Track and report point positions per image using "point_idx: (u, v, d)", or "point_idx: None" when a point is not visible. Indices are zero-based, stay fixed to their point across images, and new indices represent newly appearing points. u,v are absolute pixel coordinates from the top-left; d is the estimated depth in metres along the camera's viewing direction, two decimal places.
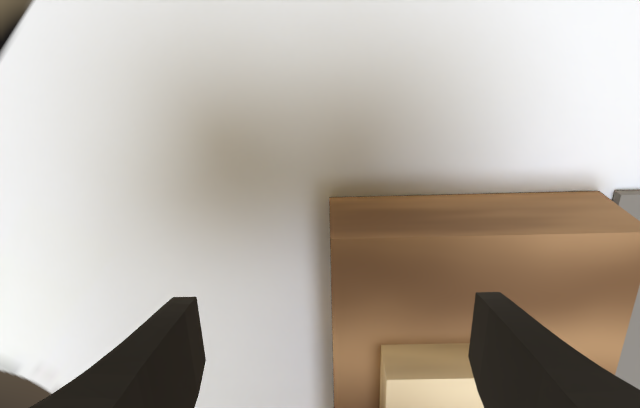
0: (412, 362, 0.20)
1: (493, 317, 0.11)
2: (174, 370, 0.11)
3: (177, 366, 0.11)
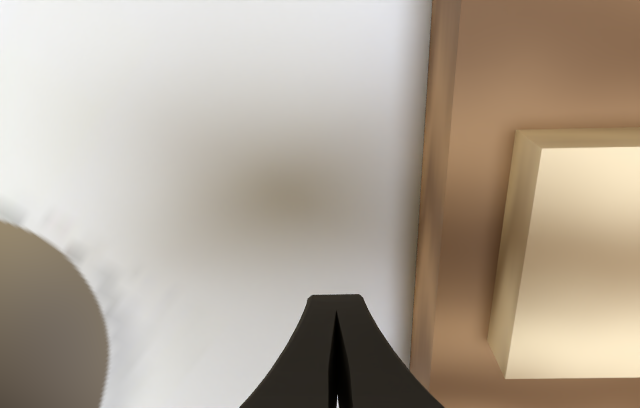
0: (568, 138, 0.14)
1: (337, 319, 0.11)
2: (333, 368, 0.11)
3: (334, 364, 0.11)
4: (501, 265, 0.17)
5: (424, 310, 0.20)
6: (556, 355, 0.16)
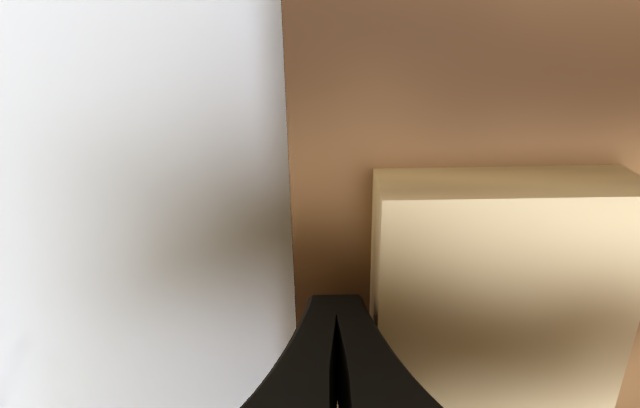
0: (428, 183, 0.11)
1: (336, 319, 0.11)
2: (334, 368, 0.11)
3: (335, 364, 0.11)
4: None
5: None
6: None
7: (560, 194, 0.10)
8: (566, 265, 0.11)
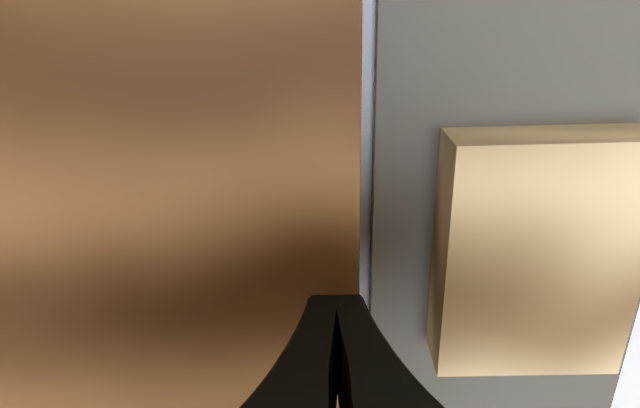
0: (617, 131, 0.14)
1: (337, 319, 0.11)
2: (333, 367, 0.11)
3: (334, 364, 0.11)
4: (635, 281, 0.15)
5: None
6: None
7: (517, 126, 0.15)
8: None
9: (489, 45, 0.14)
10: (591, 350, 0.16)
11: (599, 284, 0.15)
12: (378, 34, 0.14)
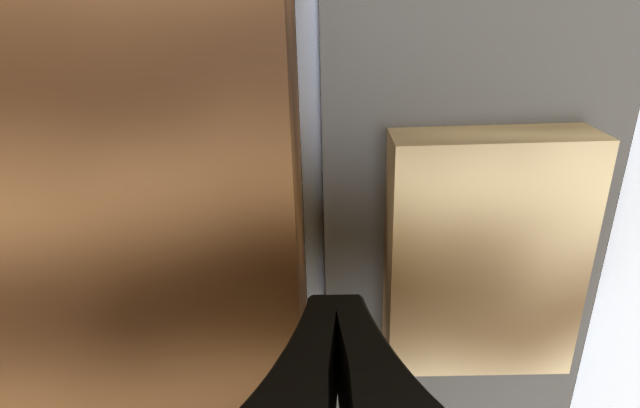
0: (560, 131, 0.14)
1: (337, 319, 0.11)
2: (333, 368, 0.11)
3: (334, 364, 0.11)
4: (583, 281, 0.15)
5: None
6: None
7: (462, 126, 0.15)
8: None
9: (431, 45, 0.14)
10: (540, 349, 0.16)
11: (545, 284, 0.15)
12: (320, 34, 0.14)
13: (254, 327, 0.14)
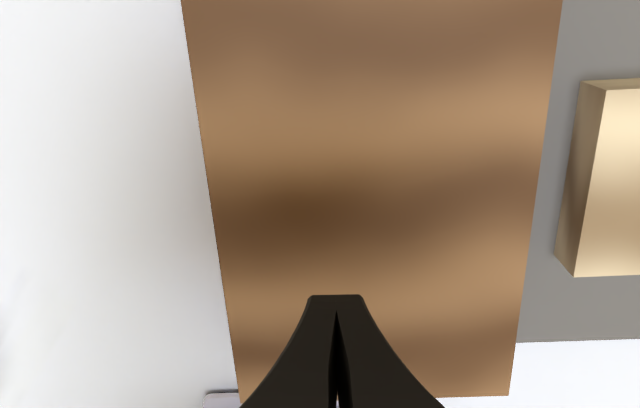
0: None
1: (337, 319, 0.11)
2: (333, 367, 0.11)
3: (334, 364, 0.11)
4: None
5: None
6: None
7: None
8: None
9: (622, 16, 0.19)
10: None
11: None
12: None
13: (496, 228, 0.19)
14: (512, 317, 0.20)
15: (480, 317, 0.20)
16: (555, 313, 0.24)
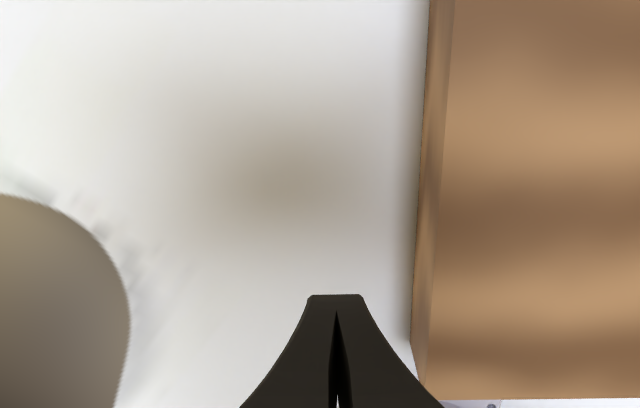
0: None
1: (337, 319, 0.11)
2: (333, 368, 0.11)
3: (334, 364, 0.11)
4: None
5: (423, 281, 0.22)
6: None
7: None
8: None
9: None
10: None
11: None
12: None
13: None
14: None
15: None
16: None
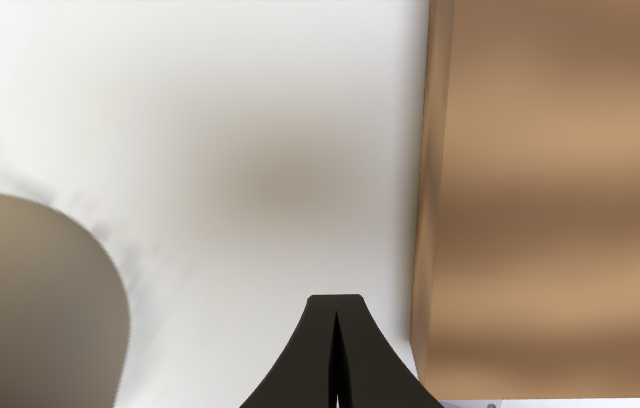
0: None
1: (337, 319, 0.11)
2: (333, 368, 0.11)
3: (334, 364, 0.11)
4: None
5: (423, 281, 0.22)
6: None
7: None
8: None
9: None
10: None
11: None
12: None
13: None
14: None
15: None
16: None
